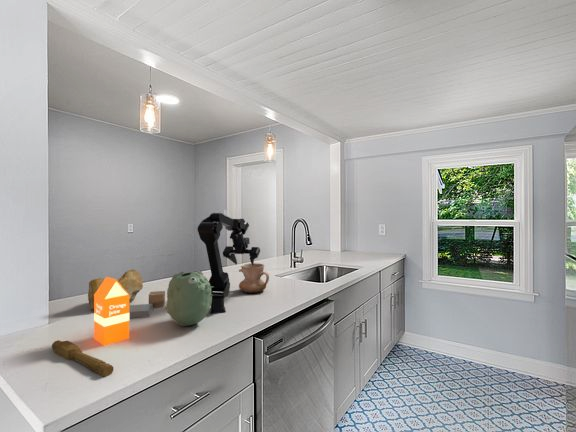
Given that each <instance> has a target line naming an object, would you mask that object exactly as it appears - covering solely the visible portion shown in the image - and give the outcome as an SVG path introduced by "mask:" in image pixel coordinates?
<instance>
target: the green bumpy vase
mask: <svg viewBox="0 0 576 432" xmlns="http://www.w3.org/2000/svg"><path fill="white" fill-rule="evenodd" d="M208 281H209V279H208V278H206V276H205V275H204V273H203V271H201V270H198V271H196V272H194V271H193V272H192V271H190V272H184V271H181V272H179V273H175V274H174V275H172V277H171V279H170V280H169V282H168V288H167V290H166V307H165V310H166V311H167V314H168V315H169V316H170V318H171V319H172V320H173V321H174V322H175V323H177V324H178V325H181V326H184V327H188V326H193V325H196V324H198V323H200V322H201V321H203V320H204V319H205V318H206V316H207V315H208V313H209V312H210V308H211V303H212V296H213V295H212V294H211V288H213V286H210V283H209V282H208Z"/></svg>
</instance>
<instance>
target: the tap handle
mask: <svg viewBox="0 0 576 432" xmlns="http://www.w3.org/2000/svg"><path fill="white" fill-rule="evenodd" d="M51 348H52V351H53V350H54V352H55V353H54V354H55V355H58V356H60V357H61V358H63V359H66V360H67V361H70V360H72V361H77V362H78V363H80V364H82V365H83V366H84V367H86V368H88V369H89V370H91V371H92V372H94V373H96V374H99V375H100V376H102V378H103V377H106V378H107V377H109V376H110V375H112V374H113V373H114V366H113V365H112V364H110V363H107V362H106V361H103V360H102V359H99V358H96V357H94V356H91V355H89V354H87V353H84V352H83V351H82V350H81V347H80V345H78V344H75V343H74V342H71V341H69V340H55V341H54V342H52V344H51Z"/></svg>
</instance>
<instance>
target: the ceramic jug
mask: <svg viewBox="0 0 576 432" xmlns="http://www.w3.org/2000/svg"><path fill="white" fill-rule="evenodd" d="M264 269H265V265H264V264H263V263H257V262H254V264H253V265H252V264H251V262H250V263H244V264H241V267H240V268H239V269H238V272H239V273H242V274H243V276H244V277H243V278H244V279H243V280H241V281H240V282H239V284H238V288H239V290H241V291H242V292H244V293H246V294H248V293H249V294H254V293H261V292H263V291H264V290H266V288H267V285H268V283H269V281H270V275H269V273H268V272H267V271H264ZM263 275H265V277H266V279H265V281H264V280H262V278H261V277H262V276H263Z"/></svg>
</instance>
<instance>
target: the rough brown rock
mask: <svg viewBox="0 0 576 432" xmlns="http://www.w3.org/2000/svg"><path fill="white" fill-rule="evenodd" d="M104 280H105V278H102V277H100V278H93V279H91V280H90V281H89V283H88V292H87V301H88V306H89V308H90V309H91V310H94V294H95V293H96V291H97V290H98V289H99V287H100V286H101V284H102V283H103V281H104ZM116 280H117V281H118V283H119V284H120V285H121V286H122V287H123V288H124V290H125V291H126V292H127V293H128V294H129V304H130V303H133V302H134V301H135V299H136V296H137V294H139V292H140V291H141V290H142V289H143V287H144V286H143V280H142V276H141V274H140V273H139V272H138V271H137V270H136V269H130V270H127V271H125V272H124V273H123V275H122V276H120V277H119V278H118V279H116Z"/></svg>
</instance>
